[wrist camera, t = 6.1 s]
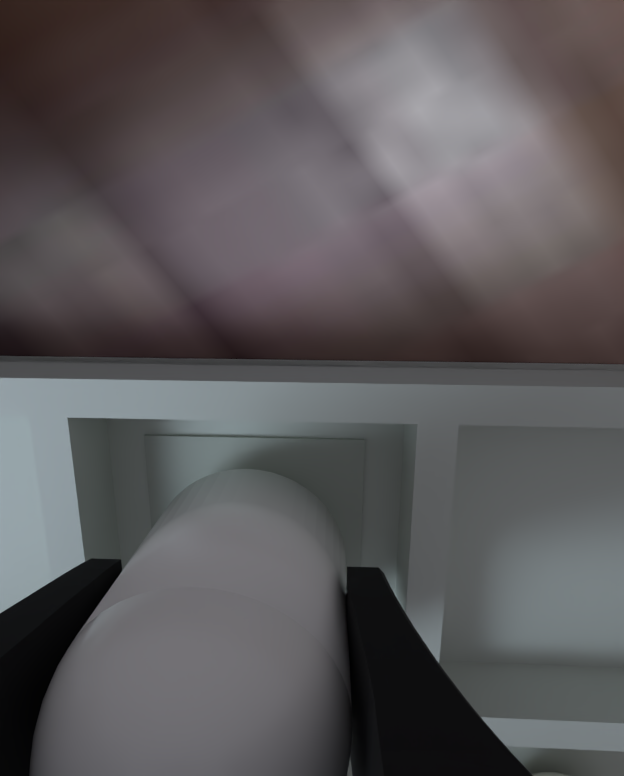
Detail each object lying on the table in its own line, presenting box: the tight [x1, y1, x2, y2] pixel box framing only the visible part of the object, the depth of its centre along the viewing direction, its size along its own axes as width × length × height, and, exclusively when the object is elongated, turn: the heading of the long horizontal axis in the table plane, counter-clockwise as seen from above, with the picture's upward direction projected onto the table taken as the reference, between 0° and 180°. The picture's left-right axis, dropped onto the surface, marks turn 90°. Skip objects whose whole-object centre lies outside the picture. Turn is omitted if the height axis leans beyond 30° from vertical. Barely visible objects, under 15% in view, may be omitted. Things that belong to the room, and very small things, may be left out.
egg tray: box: [0, 356, 624, 776], centre depth 12 cm, size 16×24×2 cm
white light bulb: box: [29, 469, 352, 776], centre depth 8 cm, size 4×4×6 cm
